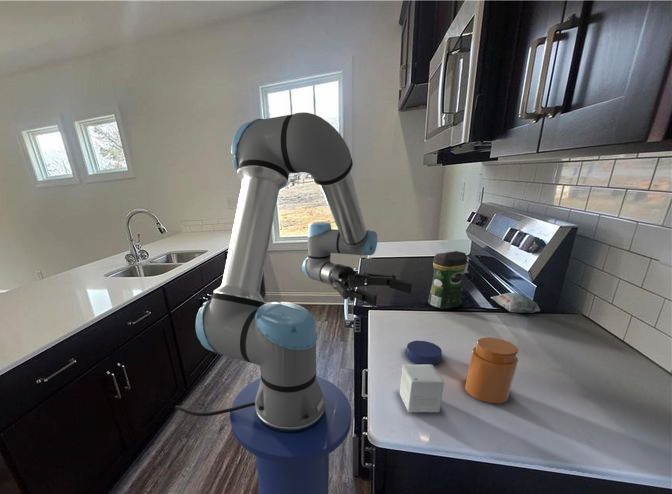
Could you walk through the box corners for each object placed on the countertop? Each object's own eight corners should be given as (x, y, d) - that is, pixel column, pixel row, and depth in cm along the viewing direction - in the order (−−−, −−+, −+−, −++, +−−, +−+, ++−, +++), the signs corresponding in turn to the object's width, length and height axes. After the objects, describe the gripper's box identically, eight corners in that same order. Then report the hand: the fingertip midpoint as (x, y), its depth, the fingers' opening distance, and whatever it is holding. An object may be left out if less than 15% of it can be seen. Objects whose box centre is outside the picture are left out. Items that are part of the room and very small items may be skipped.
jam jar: (492, 408, 62) (504, 359, 58) (457, 387, 69) (465, 341, 64) (516, 396, 65) (529, 348, 61) (480, 376, 71) (490, 332, 67)
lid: (438, 350, 82) (439, 342, 81) (442, 368, 75) (444, 359, 74) (405, 347, 85) (406, 339, 84) (406, 363, 78) (407, 354, 77)
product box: (440, 413, 62) (445, 382, 59) (407, 413, 62) (411, 382, 60) (428, 393, 67) (432, 363, 65) (398, 393, 68) (402, 363, 65)
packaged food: (508, 317, 98) (512, 302, 96) (489, 302, 108) (492, 289, 107) (539, 317, 96) (543, 302, 95) (516, 302, 107) (520, 289, 105)
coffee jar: (445, 299, 114) (453, 248, 107) (464, 306, 106) (473, 252, 100) (423, 303, 111) (429, 251, 104) (440, 311, 104) (448, 256, 97)
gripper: (365, 279, 108) (421, 296, 91) (307, 296, 96) (358, 319, 79) (367, 257, 105) (425, 271, 88) (306, 272, 93) (360, 291, 76)
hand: (393, 294), depth 83 cm, fingers open, 13 cm apart
